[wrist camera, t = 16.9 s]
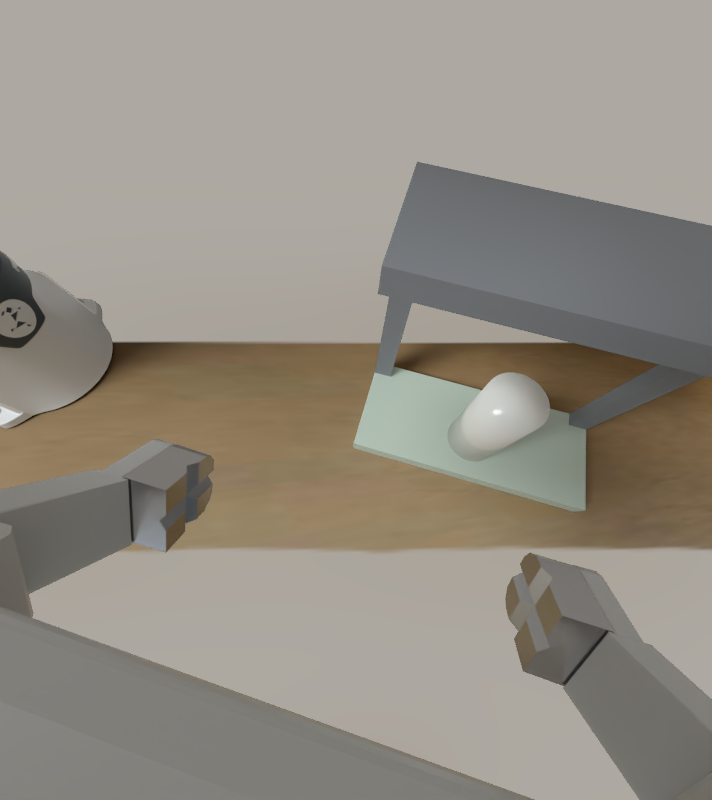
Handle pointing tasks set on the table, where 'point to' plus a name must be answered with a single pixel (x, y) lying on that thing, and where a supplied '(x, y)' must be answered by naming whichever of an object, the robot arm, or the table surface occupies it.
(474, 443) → the white cylinder
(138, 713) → the robot arm
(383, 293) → the grey frame
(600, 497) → the table surface
